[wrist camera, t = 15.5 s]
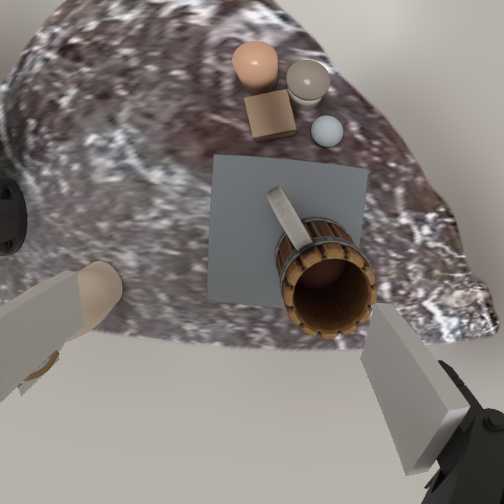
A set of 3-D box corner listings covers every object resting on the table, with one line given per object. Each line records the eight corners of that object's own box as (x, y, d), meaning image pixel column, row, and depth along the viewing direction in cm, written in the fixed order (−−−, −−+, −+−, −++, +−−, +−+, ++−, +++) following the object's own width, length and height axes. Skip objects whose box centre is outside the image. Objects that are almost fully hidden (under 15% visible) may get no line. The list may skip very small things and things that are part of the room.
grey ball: (308, 146, 37) (311, 142, 33) (310, 117, 36) (313, 110, 32) (338, 150, 36) (345, 147, 32) (340, 121, 35) (347, 115, 31)
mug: (365, 268, 39) (405, 316, 25) (298, 305, 41) (305, 368, 27) (310, 165, 37) (329, 157, 22) (239, 207, 39) (214, 224, 24)
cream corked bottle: (130, 257, 42) (-12, 347, 15) (136, 312, 45) (25, 428, 18) (78, 255, 43) (-57, 322, 16) (86, 305, 46) (-28, 394, 18)
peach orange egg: (238, 94, 36) (230, 78, 29) (241, 61, 35) (234, 40, 28) (277, 96, 35) (276, 79, 29) (279, 63, 34) (278, 42, 27)
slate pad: (207, 298, 43) (206, 300, 42) (214, 154, 38) (213, 154, 37) (346, 311, 41) (347, 313, 41) (366, 169, 37) (368, 169, 36)
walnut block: (256, 142, 37) (253, 137, 32) (248, 107, 36) (243, 97, 31) (294, 135, 37) (296, 129, 32) (286, 99, 35) (286, 89, 31)
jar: (284, 110, 36) (285, 96, 29) (286, 77, 35) (287, 58, 28) (321, 114, 35) (329, 101, 29) (322, 81, 34) (330, 62, 27)
